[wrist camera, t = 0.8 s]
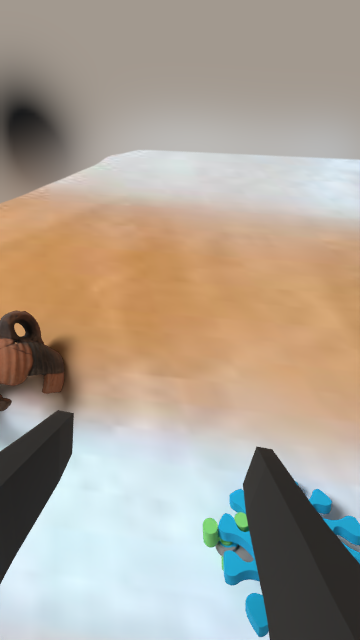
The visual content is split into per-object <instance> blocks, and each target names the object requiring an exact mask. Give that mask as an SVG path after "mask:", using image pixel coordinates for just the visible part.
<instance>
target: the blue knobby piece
mask: <svg viewBox="0 0 360 640" xmlns="http://www.w3.org/2000/svg"><path fill="white" fill-rule="evenodd" d="M296 483H297V482H296ZM297 485H298V483H297ZM309 501H310V502H311V504H312V505H313V507H314V508H315V509H316V510H317V512H319V513H323V514H327V513H329V512H330V510H331V504H332V501H331V500H330V498H329V497H328V496H327V495H326V494H324V493H323V492H322V491H321V490H319V489H316V490H314V491H313V492H312V496H311V498H310V499H309ZM230 506H231V508H232V509H233V510H234V511H236V512H238V513H237V514H236V515H235V520H234V518H233V517H232V516H231V515H230V514H227V513H225V514H224V515H223V516H222V518H221V520H220V522H219V525H217V522H216V521H215V520H214V519H212V518H207V519H205V521H204V522H203V539H204V543H205V544H206V545H207V546H208V547H214V546H216V549H217V551H218V553H219V554H220V555H221V556H222V569H223V571H224V577H225V582H226V583H227V584H229V585H236V584H238V583H239V582H241V581H243V580H248V579H251V580H257V581H260V580H259V575H258V570H257V566H256V561H255V556H254V551H253V547H252V542H251V537H250V532H249V527H248V522H247V517H246V509H245V501H244V491H243V490H242V489H239V490H236V491H234V492H233V493H231V494H230ZM323 520H324V521H325V522H326V523H327V525H328V526H329V527H330V528H331V530H332V531H333V532H334V533H335V535H340V536H342V537H343V538H345V539H346V540H348V541H349V542H351V543H352V544H355V545H360V524H359V522H358V521H357V520H356V518H354V517H352V516H345V517H344V518H342V519H340V520H328V519H324V518H323ZM343 544H344V543H343ZM344 546H345V547H346V548H347V549H348V551H349V552H350V553H351V554H352V555H353V556H354V558H355V559H356V560H357V561H358V562H359V564H360V552H357V551H355V550H353V549H351V548H350V547H348V546H346V545H345V544H344ZM246 614H247V617H248V619H249V621H250V623H251V625H252V627H253V629H254V630H255V632H256V633H257V635H258V636H259V637H263V636H265V635H266V634H267V633H268V631H269V629H268V622H267V616H266V610H265V605H264V599H263V595H260V594H257V593H252V594H250V595H249V596H248V597H247V599H246Z"/></svg>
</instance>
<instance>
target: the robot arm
mask: <svg viewBox="0 0 360 640" xmlns="http://www.w3.org/2000/svg"><path fill="white" fill-rule="evenodd" d="M73 417H74V413H70V412H64V411H59V410H58V411H56V412H55V413H54V414H52V415H51V416H49V417H48V418H47V419H45V420H44V421H42V422H41V423H40V424H38V425H37V426H36V427H34V428H33V429H32V430H30V431H29V432H27V433H26V434H25V435H23V436H22V437H20V438H19V439H18V440H16V441H15V442H13V443H12V444H10V445H9V446H8V447H6V448H5V449H3V450H2V451H0V584H1V582H2V580H3V578H4V576H5V574H6V572H7V570H8V568H9V567H10V565H11V563H12V561H13V559H14V557H15V556H16V554H17V552H18V550H19V549H20V547H21V545H22V544H23V542H24V540H25V539H26V537H27V535H28V534H29V532H30V530H31V528H32V527H33V525H34V523H35V522H36V520H37V518H38V517H39V515H40V513H41V512H42V510H43V508H44V507H45V505H46V503H47V501H48V500H49V498H50V496H51V495H52V493H53V491H54V489H55V488H56V486H57V484H58V482H59V481H60V478H61V476H62V474H63V472H64V470H65V468H66V466H67V463H68V461H69V459H70V457H71V455H72V444H73ZM243 490H244V501H245V509H246V517H247V522H248V527H249V532H250V537H251V542H252V547H253V551H254V556H255V561H256V566H257V570H258V575H259V580H260V585H261V590H262V594H263V599H264V605H265V610H266V616H267V622H268V629H269V637H270V640H360V564H359V562H358V561H357V560H356V559H355V558H354V556H353V555H352V554H351V553H350V552H349V551H348V549H347V548H346V547H345V546H344V544H343V543H342V542H341V541H340V540H339V538H338V537H337V536H336V535H335V533H334V532H333V531H332V530H331V528H330V527H329V526H328V525H327V523H326V522H325V521H324V520H323V518H322V517H321V516H320V514H319V513H318V512H317V510H316V509H315V508H314V507H313V505H312V504H311V502H310V501H309V500H308V498H307V497H306V496H305V494H304V493H303V492H302V490H301V489H300V488H299V486H298V485H297V483H296V482H295V481H294V479H293V478H292V476H291V475H290V474H289V472H288V471H287V469H286V468H285V467H284V465H283V464H282V462H281V461H280V460H279V458H278V457H277V455H276V454H275V453H274V451H273V450H272V449H267V448H261V447H256V450H255V453H254V455H253V458H252V461H251V464H250V466H249V469H248V472H247V475H246V477H245V480H244V483H243Z"/></svg>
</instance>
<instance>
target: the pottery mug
mask: <svg viewBox="0 0 360 640" xmlns="http://www.w3.org/2000/svg"><path fill="white" fill-rule="evenodd" d="M15 323H19V324H21V325H22V326H23V328H24V329H25V332H26V333H25V335H24V336H22V337H19V336H18V335H17V334H16V332H15V330H14V324H15ZM15 342H16V343H17V344H15ZM39 374H42V375H44V384H43V389H42V392H43V393H46V394H48V393H52V392H60V391H61V390H62V386H63V381H64V363H63V359H62V357H61V355H60V354H59V353H58V352H57V351H55V350H53V349H51V348H50V347H48V346H46V345H45V344H44V342H43V341H42V339H41V331H40V327H39V325H38V323H37V321H36V320H35V318H34V317H33V316H32V315H30V314H29V313H27V312H26V311H22V312H20V311H13V312H10V313H8V314H6V315H4V316H3V317H2V318H1V320H0V384H6V385H11V386H15V385H18V384H21V383H23V382H24V381H25V379H26V378H27V376H33V375H39ZM11 402H12V401H11V400H10V399H7V398H3V397H2V395H0V411H4V410H5V409H7V408H8V406H9V405H10V404H11Z"/></svg>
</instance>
